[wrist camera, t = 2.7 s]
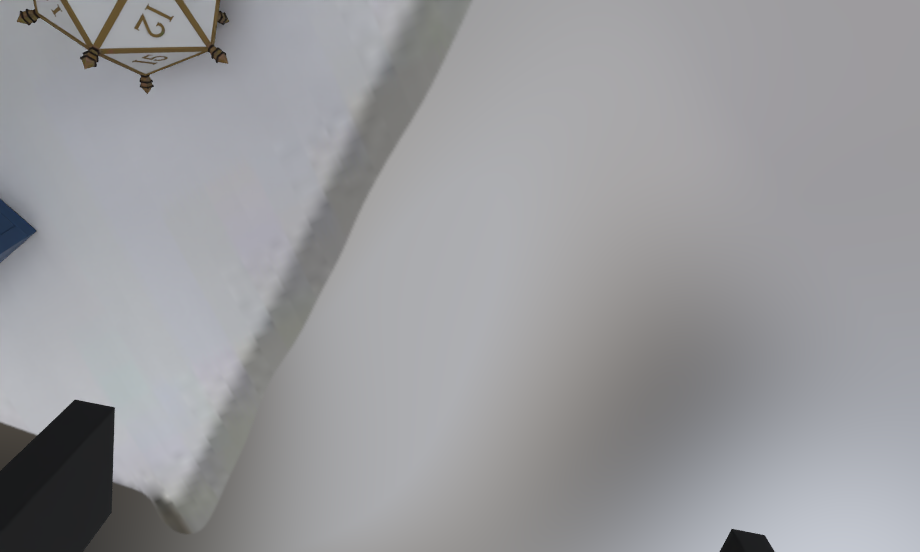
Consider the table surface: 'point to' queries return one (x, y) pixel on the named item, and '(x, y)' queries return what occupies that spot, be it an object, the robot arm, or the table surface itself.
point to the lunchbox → (12, 231)
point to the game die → (135, 30)
